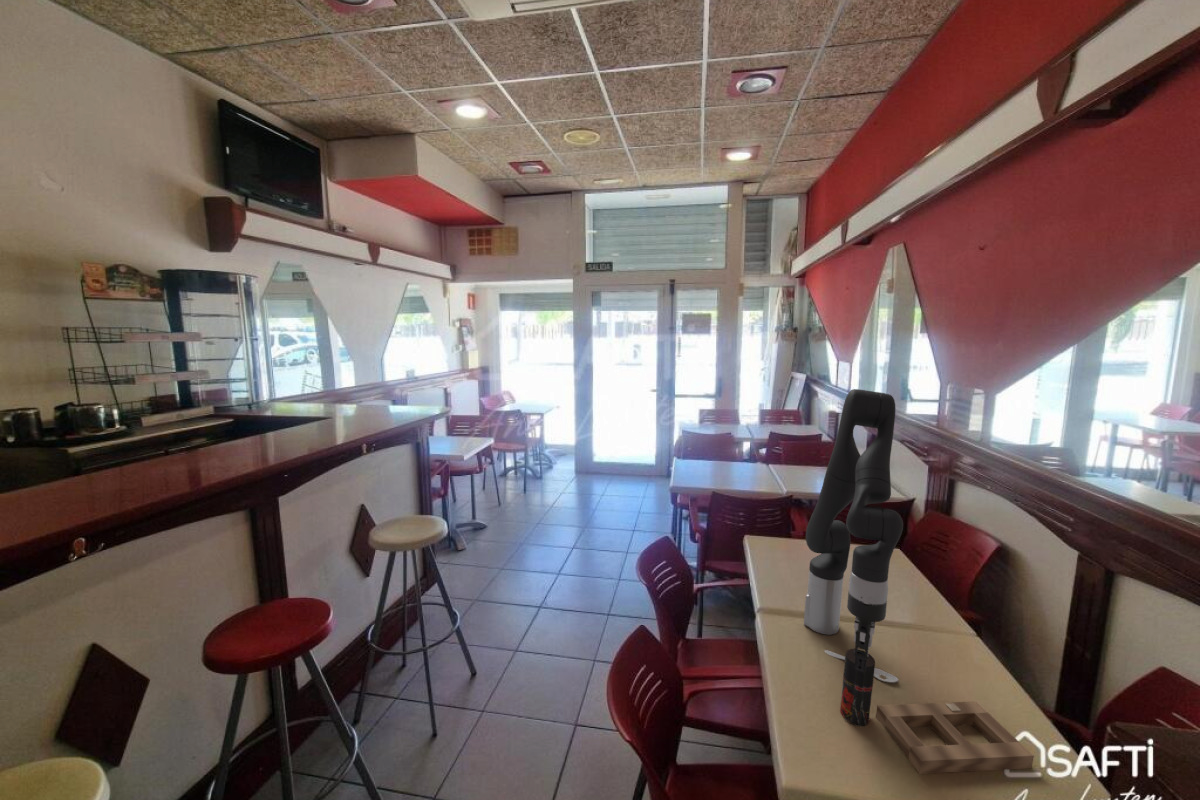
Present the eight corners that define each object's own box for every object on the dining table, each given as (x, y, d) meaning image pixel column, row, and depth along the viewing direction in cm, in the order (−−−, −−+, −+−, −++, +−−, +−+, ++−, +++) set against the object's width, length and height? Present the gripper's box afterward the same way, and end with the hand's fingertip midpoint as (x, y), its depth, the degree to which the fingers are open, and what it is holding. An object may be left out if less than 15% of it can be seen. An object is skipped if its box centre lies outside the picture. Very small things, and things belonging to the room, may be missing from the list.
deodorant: (872, 728, 106) (879, 668, 103) (844, 723, 107) (850, 664, 104) (863, 707, 111) (869, 650, 109) (836, 703, 113) (842, 647, 110)
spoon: (896, 690, 117) (896, 684, 117) (811, 650, 131) (811, 645, 131) (900, 681, 120) (900, 675, 120) (816, 643, 134) (817, 638, 134)
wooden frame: (919, 773, 95) (921, 759, 94) (875, 716, 109) (877, 704, 108) (1031, 768, 96) (1034, 754, 96) (974, 712, 110) (976, 700, 109)
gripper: (852, 574, 112) (846, 636, 115) (845, 603, 100) (839, 671, 103) (888, 584, 108) (882, 648, 110) (885, 614, 96) (878, 685, 99)
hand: (861, 659), depth 107 cm, fingers open, 8 cm apart
